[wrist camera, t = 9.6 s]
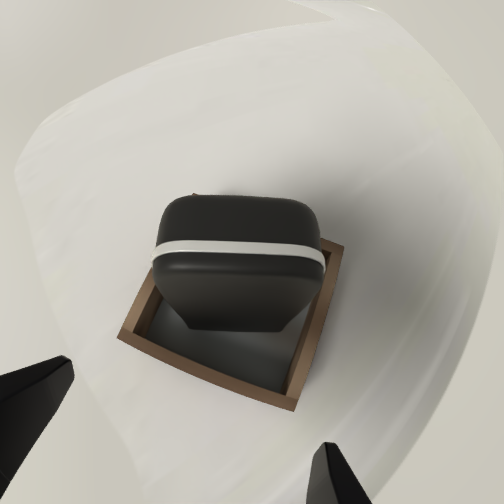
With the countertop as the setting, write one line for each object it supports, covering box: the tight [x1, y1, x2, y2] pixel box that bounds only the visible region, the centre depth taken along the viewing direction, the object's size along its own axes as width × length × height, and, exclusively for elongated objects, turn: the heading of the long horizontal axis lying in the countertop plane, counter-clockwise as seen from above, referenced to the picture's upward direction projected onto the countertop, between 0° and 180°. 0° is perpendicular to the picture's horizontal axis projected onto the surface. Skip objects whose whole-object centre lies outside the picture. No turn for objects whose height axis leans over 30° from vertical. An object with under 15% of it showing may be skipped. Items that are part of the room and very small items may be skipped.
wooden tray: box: [117, 193, 344, 412], centre depth 20 cm, size 12×12×4 cm
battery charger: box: [151, 195, 326, 332], centre depth 16 cm, size 7×4×11 cm, turn 89°
